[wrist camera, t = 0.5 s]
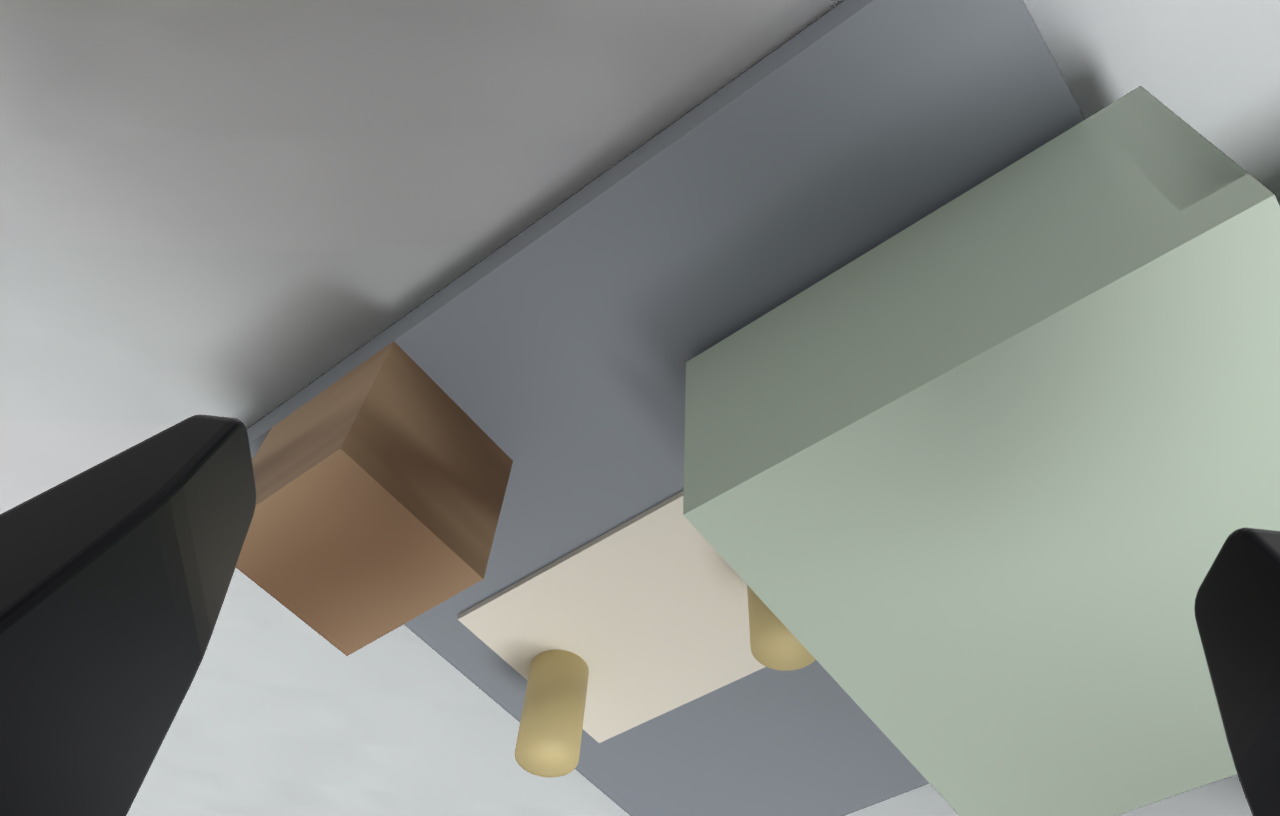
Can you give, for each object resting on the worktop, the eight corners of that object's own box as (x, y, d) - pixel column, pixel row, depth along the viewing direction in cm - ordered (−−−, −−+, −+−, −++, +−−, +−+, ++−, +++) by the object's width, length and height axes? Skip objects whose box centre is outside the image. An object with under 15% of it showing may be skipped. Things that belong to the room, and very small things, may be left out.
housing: (1543, 429, 22) (1747, 598, 18) (949, 679, 27) (997, 856, 23) (1378, -59, 17) (1606, 14, 13) (686, 362, 22) (682, 515, 18)
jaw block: (513, 461, 24) (483, 579, 21) (392, 534, 25) (347, 656, 22) (393, 340, 22) (340, 448, 19) (272, 427, 24) (203, 540, 20)
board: (1323, 589, 27) (1418, 720, 23) (697, 838, 34) (697, 965, 30) (966, -88, 18) (1031, -44, 15) (235, 437, 25) (162, 550, 22)
